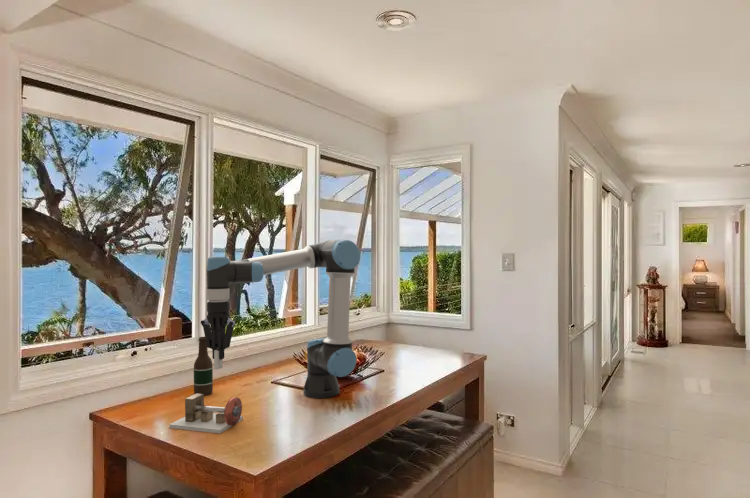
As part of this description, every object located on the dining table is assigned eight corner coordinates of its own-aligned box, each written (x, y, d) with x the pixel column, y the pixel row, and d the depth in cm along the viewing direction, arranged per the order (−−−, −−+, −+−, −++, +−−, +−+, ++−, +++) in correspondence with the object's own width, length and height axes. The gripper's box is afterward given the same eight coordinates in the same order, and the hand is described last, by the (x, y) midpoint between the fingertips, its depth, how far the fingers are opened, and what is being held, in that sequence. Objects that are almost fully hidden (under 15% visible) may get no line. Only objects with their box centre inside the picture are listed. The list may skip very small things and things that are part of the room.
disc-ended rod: (244, 420, 172) (244, 394, 172) (230, 429, 163) (229, 402, 163) (195, 415, 177) (195, 390, 178) (178, 424, 169) (178, 397, 169)
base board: (242, 419, 175) (242, 415, 175) (220, 433, 161) (220, 429, 161) (195, 414, 180) (195, 411, 180) (169, 427, 167) (169, 424, 167)
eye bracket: (230, 418, 172) (229, 396, 172) (219, 425, 166) (219, 401, 166) (196, 415, 176) (196, 393, 176) (185, 421, 170) (185, 398, 170)
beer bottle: (206, 396, 202) (206, 339, 202) (189, 395, 204) (189, 338, 204) (216, 391, 210) (216, 335, 210) (200, 390, 211) (199, 335, 212)
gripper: (240, 300, 171) (240, 367, 171) (208, 299, 175) (208, 364, 175) (228, 302, 164) (228, 372, 164) (195, 301, 168) (195, 369, 168)
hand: (218, 368), depth 169 cm, fingers closed
